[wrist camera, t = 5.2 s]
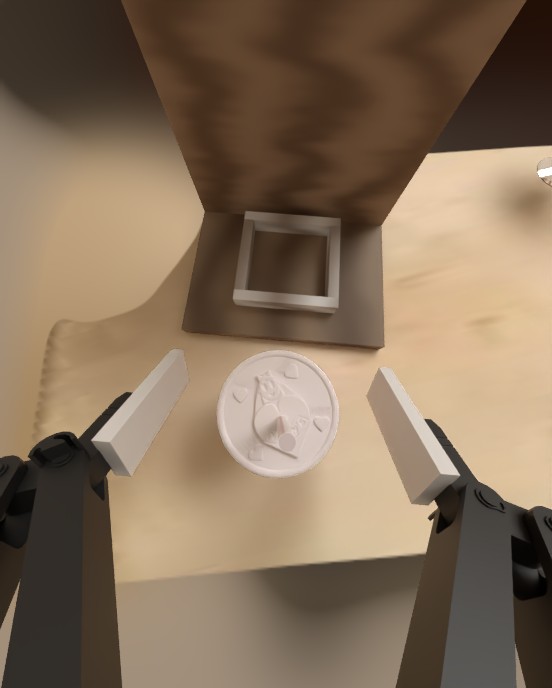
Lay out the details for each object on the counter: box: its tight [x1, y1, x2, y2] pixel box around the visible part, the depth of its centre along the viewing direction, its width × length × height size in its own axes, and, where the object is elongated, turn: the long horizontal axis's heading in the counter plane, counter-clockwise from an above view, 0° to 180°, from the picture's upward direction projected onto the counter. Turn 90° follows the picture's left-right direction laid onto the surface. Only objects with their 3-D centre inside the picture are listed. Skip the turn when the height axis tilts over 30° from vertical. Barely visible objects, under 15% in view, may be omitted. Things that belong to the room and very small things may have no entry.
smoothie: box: [217, 350, 339, 478], centre depth 13 cm, size 6×6×14 cm
